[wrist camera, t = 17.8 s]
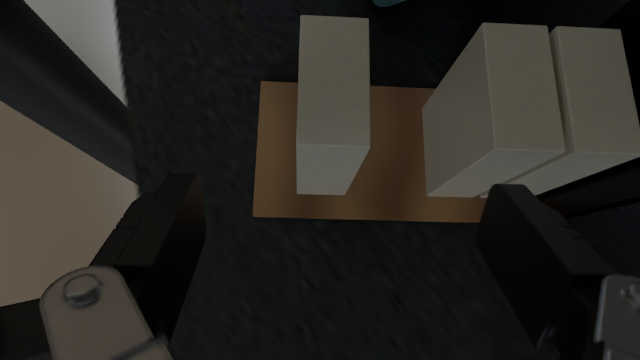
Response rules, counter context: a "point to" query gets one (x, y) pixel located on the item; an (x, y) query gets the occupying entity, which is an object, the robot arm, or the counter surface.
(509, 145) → the rack
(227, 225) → the counter surface
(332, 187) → the beige block
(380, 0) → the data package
